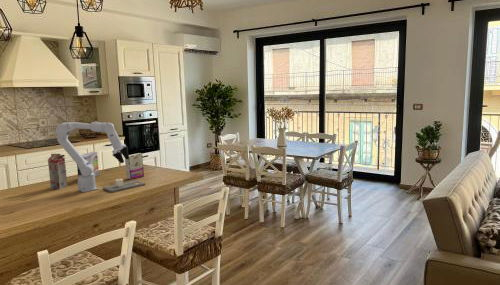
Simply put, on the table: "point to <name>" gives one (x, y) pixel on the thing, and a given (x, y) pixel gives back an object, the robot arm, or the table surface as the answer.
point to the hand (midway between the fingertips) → (125, 160)
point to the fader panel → (126, 186)
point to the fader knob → (119, 182)
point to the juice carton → (57, 171)
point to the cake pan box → (92, 159)
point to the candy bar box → (134, 166)
